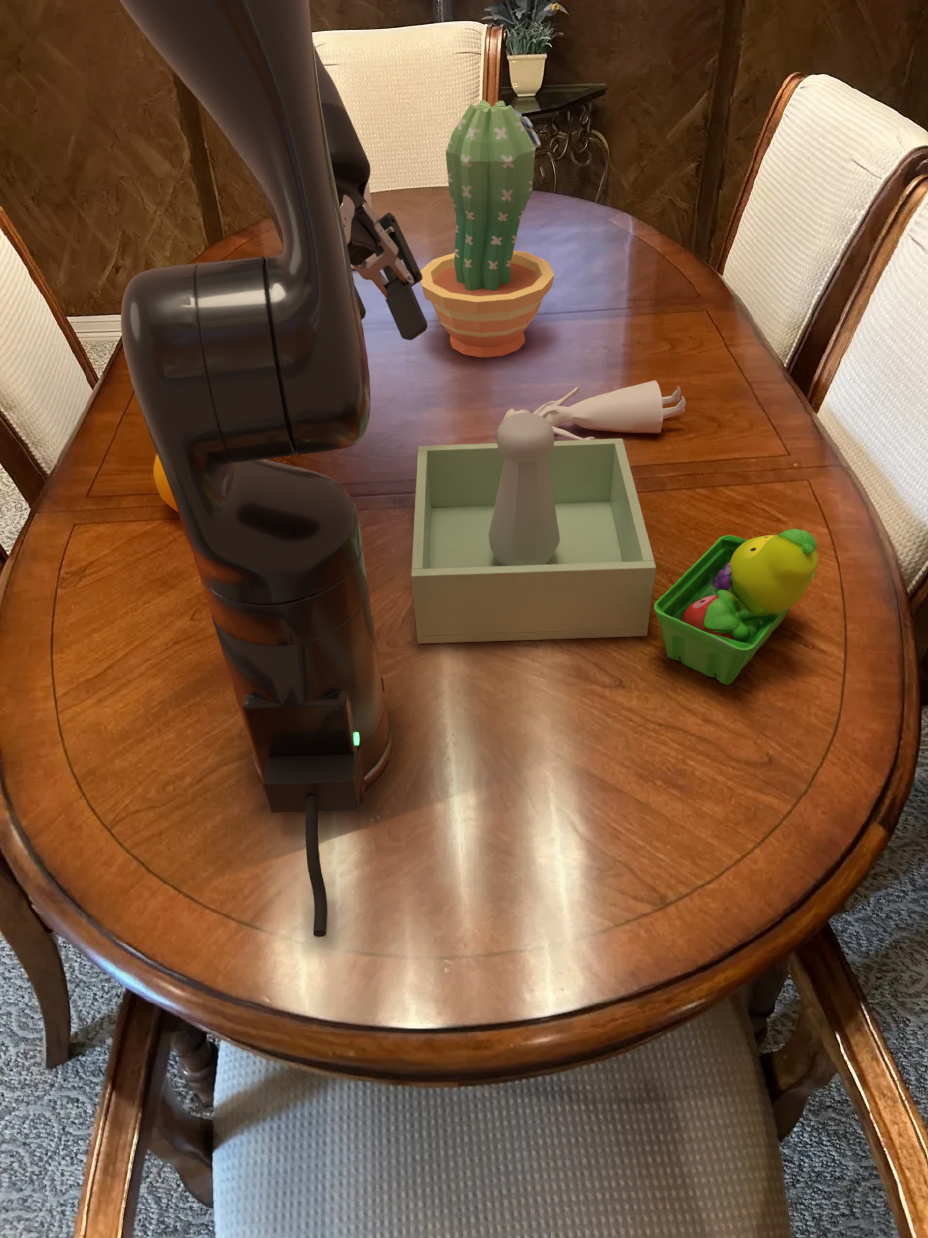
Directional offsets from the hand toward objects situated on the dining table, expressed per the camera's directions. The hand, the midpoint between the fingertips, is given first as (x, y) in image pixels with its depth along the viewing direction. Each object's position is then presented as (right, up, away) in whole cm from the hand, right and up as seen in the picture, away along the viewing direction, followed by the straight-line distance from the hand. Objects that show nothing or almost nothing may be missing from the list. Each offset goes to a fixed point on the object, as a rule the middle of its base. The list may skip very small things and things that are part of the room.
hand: (387, 329), depth 68 cm
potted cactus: (+9, +11, +40) cm, 43 cm away
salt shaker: (+11, -17, +8) cm, 22 cm away
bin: (+11, -17, +8) cm, 22 cm away
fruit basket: (+26, -24, +1) cm, 35 cm away
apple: (-18, -11, +17) cm, 27 cm away
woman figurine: (+19, -2, +25) cm, 31 cm away
